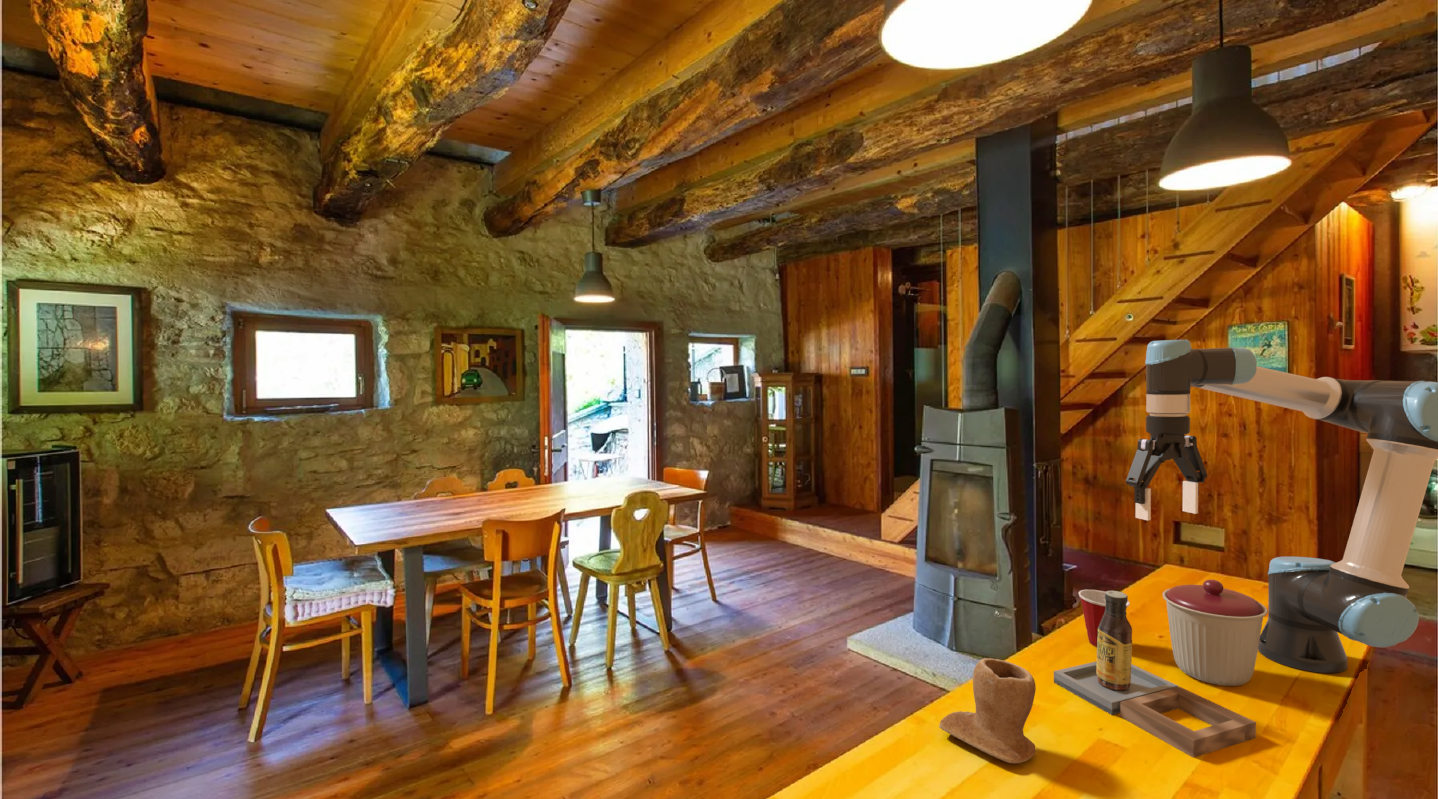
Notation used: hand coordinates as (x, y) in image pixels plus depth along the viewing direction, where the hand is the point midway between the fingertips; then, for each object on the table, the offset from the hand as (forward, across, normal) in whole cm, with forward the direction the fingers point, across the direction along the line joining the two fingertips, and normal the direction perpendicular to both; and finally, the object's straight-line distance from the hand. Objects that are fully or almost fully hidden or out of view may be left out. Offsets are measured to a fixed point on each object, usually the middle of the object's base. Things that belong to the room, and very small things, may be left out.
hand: (1166, 515), depth 134 cm
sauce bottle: (+36, +11, -3) cm, 38 cm away
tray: (+37, +11, -3) cm, 38 cm away
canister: (+37, -14, 0) cm, 39 cm away
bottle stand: (+37, +11, +12) cm, 40 cm away
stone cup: (+37, +48, +3) cm, 61 cm away
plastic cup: (+37, -6, -20) cm, 42 cm away
